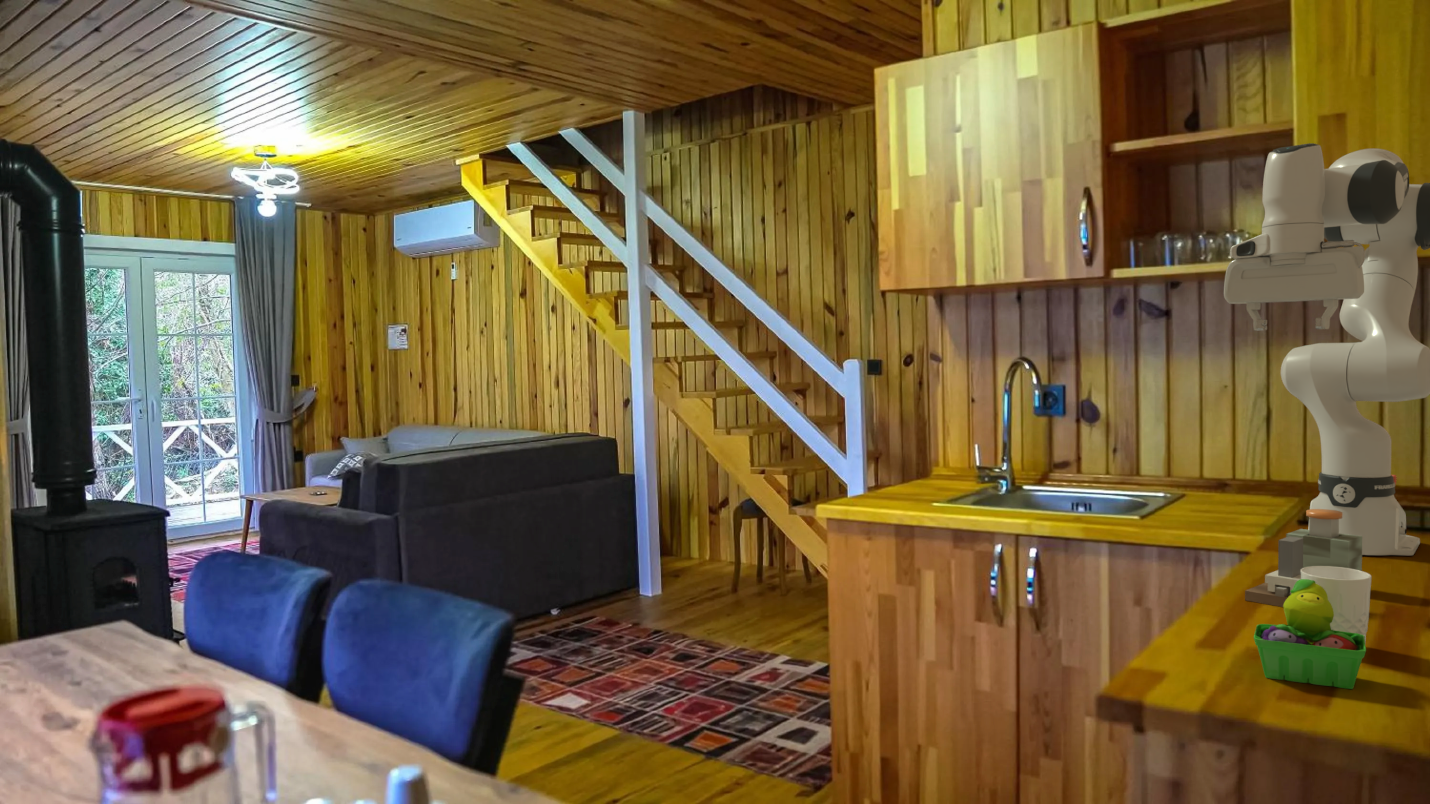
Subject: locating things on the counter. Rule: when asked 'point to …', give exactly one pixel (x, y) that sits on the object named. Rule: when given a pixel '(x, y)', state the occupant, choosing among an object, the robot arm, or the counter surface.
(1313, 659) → the fruit basket
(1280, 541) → the carriage
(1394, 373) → the robot arm
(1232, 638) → the counter surface
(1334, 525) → the button
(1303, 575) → the white cup
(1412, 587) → the counter surface
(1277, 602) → the rail bed
